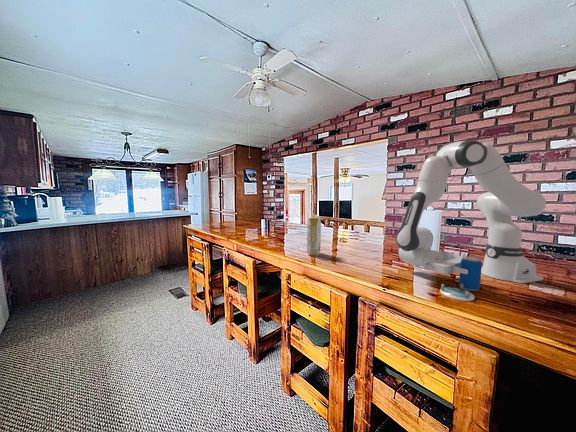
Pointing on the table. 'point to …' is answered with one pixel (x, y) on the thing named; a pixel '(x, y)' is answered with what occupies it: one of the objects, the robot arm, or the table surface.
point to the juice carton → (314, 235)
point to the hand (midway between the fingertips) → (473, 270)
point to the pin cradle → (457, 293)
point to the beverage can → (471, 273)
